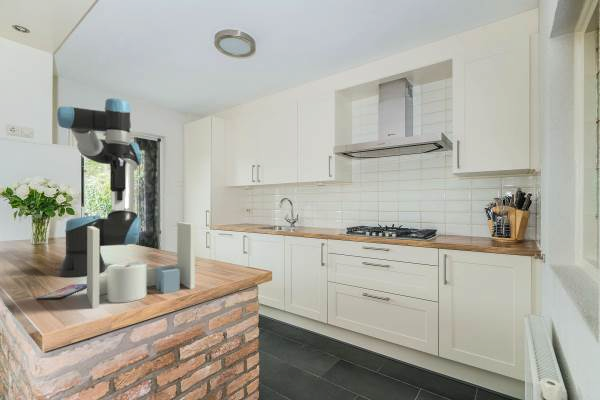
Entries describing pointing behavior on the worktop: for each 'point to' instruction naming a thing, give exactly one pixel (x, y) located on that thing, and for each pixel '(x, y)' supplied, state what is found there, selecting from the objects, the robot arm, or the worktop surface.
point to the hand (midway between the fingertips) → (117, 209)
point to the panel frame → (184, 264)
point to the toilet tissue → (126, 281)
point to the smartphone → (63, 292)
